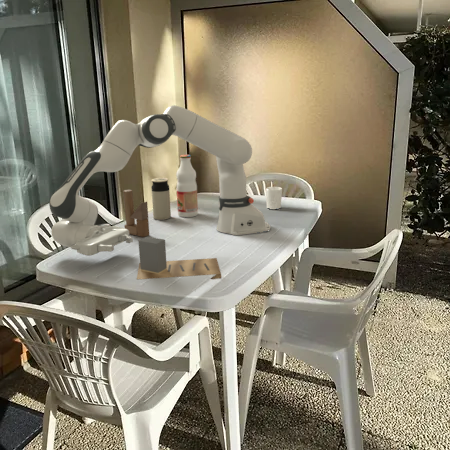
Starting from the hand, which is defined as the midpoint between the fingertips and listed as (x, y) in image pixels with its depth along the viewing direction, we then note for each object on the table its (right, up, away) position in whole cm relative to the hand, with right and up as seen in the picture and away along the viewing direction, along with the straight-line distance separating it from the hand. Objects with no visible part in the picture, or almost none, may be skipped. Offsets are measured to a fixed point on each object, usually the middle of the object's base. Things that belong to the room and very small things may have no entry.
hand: (122, 244), depth 152 cm
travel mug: (+5, +10, +61) cm, 61 cm away
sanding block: (+11, -8, -4) cm, 14 cm away
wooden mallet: (-2, +2, +38) cm, 38 cm away
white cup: (+58, +14, +73) cm, 94 cm away
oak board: (+19, -9, -3) cm, 21 cm away
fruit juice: (+17, +11, +65) cm, 68 cm away
